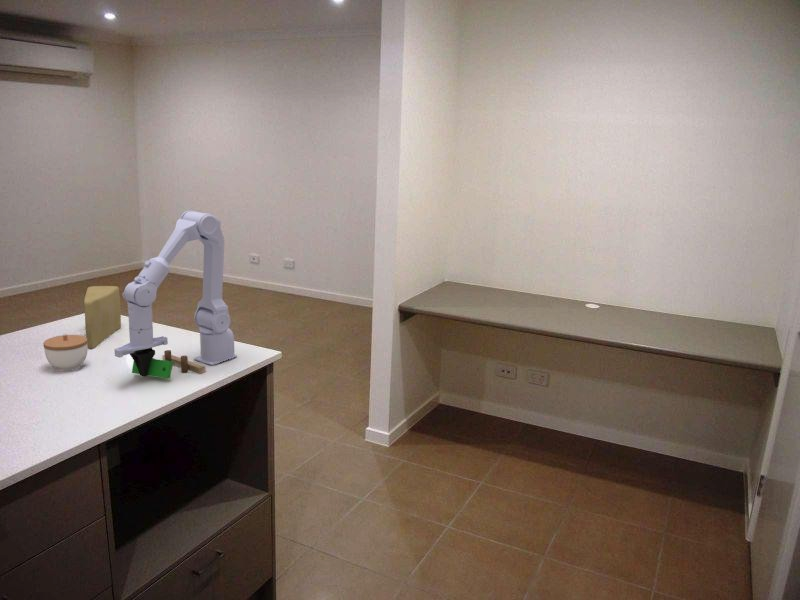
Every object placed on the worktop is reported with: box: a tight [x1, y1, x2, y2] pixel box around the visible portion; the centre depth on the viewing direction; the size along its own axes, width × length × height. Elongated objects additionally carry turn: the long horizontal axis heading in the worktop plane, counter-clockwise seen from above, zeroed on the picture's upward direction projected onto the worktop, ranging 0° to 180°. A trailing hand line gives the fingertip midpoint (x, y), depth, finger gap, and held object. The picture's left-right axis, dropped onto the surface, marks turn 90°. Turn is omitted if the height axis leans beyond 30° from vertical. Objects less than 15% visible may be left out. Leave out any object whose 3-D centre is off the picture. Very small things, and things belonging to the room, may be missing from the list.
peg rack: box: [161, 349, 206, 375], centre depth 172 cm, size 4×16×4 cm, turn 58°
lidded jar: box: [42, 333, 89, 371], centre depth 168 cm, size 11×11×9 cm
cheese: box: [83, 285, 122, 350], centre depth 192 cm, size 22×10×15 cm, turn 13°
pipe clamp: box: [131, 357, 173, 380], centre depth 165 cm, size 11×4×5 cm, turn 75°
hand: (143, 375), depth 162 cm, fingers closed
